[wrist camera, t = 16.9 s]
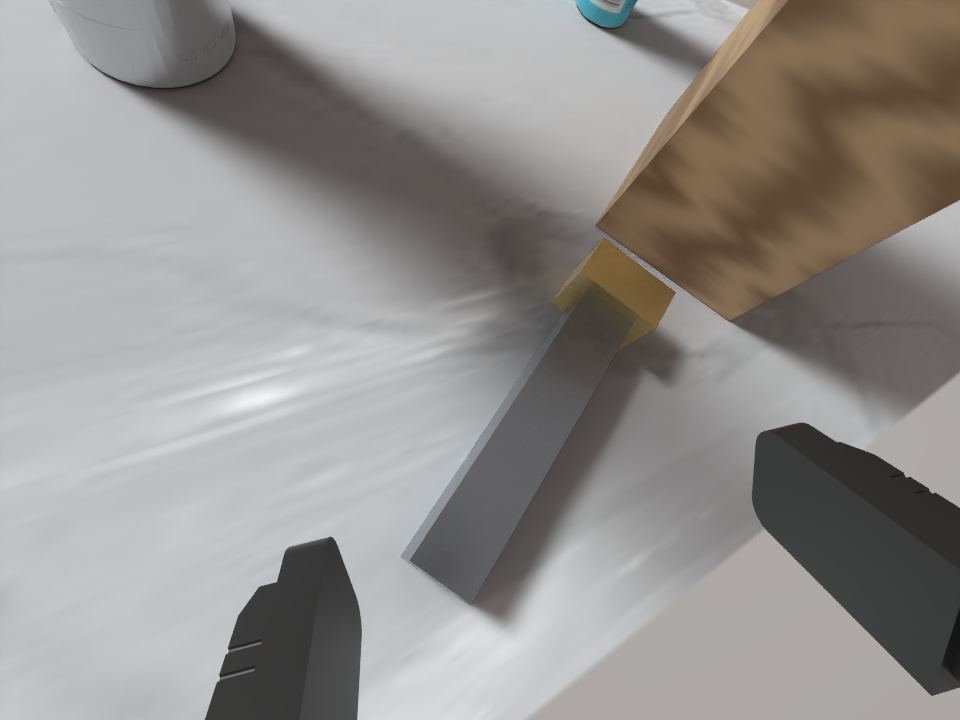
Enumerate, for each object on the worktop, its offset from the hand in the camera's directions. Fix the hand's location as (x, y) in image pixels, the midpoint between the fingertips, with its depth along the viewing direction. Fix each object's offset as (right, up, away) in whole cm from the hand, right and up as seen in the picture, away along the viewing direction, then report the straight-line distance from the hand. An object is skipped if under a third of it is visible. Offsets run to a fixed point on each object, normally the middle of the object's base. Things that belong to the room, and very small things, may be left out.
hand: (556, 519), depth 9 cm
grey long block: (+1, 0, +21) cm, 21 cm away
